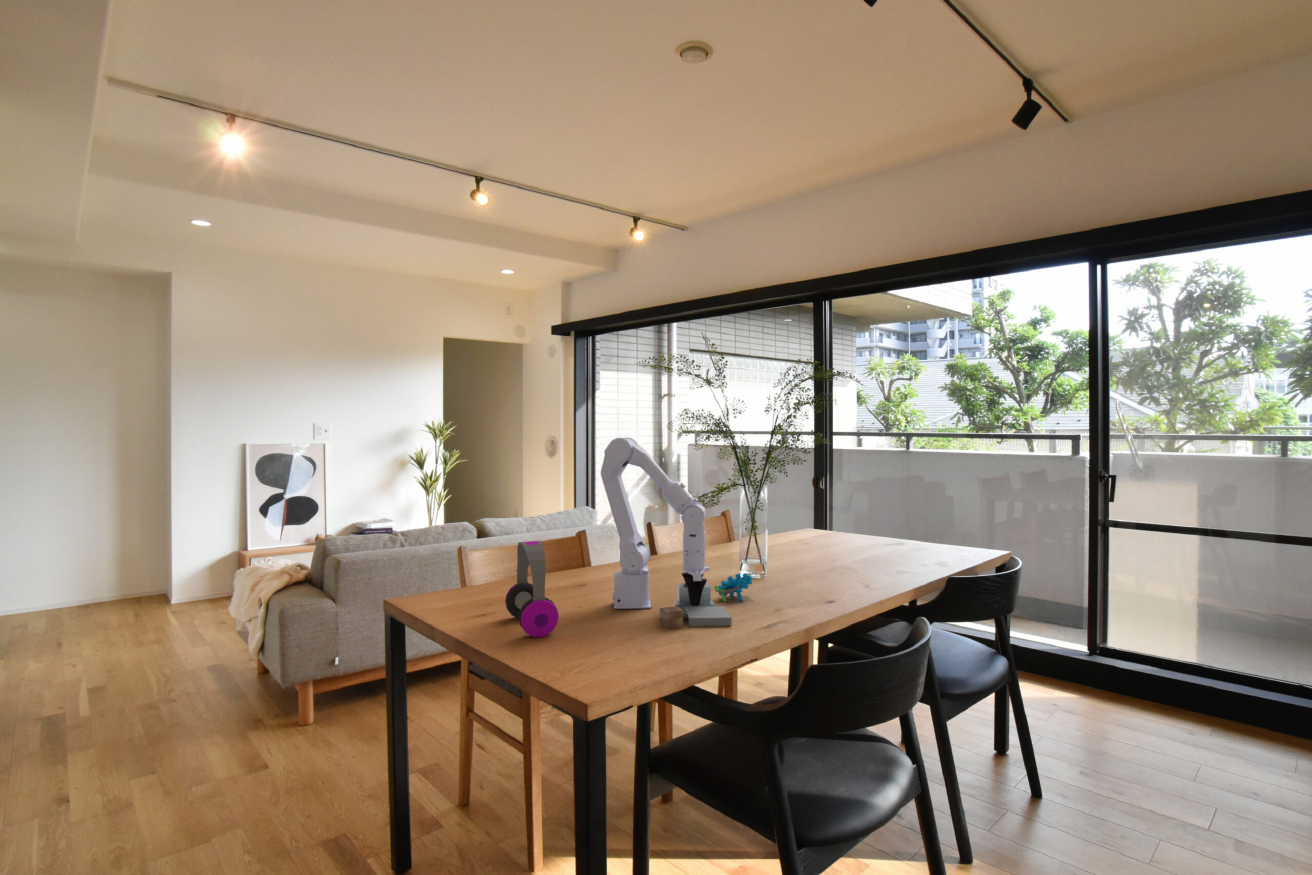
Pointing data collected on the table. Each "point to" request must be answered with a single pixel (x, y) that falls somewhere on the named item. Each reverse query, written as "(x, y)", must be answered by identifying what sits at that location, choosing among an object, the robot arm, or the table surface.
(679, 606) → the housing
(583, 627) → the table surface
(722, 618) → the stand
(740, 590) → the blue bumpy figure
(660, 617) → the bolt
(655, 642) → the table surface
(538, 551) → the headphones
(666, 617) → the walnut block
